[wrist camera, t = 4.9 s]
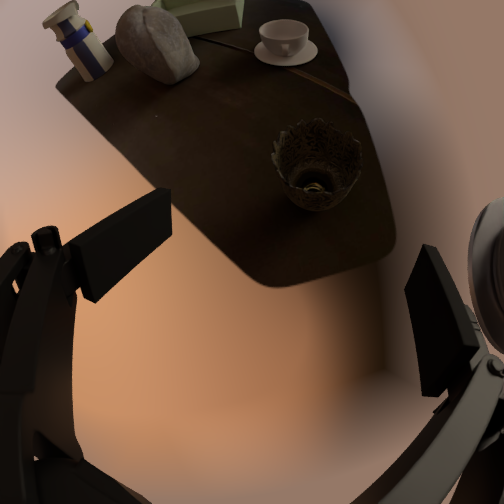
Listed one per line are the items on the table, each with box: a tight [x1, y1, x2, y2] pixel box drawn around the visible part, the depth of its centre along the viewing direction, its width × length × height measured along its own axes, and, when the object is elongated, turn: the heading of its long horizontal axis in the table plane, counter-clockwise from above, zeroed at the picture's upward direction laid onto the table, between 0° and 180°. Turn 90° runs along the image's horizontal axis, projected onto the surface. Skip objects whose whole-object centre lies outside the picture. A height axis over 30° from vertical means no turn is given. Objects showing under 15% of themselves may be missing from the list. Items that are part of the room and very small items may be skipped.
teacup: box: [254, 20, 317, 66], centre depth 34 cm, size 10×10×5 cm
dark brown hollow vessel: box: [271, 118, 364, 211], centre depth 24 cm, size 8×7×8 cm
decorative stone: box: [115, 5, 199, 85], centre depth 31 cm, size 15×10×15 cm
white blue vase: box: [43, 0, 114, 82], centre depth 32 cm, size 8×9×25 cm
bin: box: [151, 0, 244, 37], centre depth 41 cm, size 21×21×6 cm
